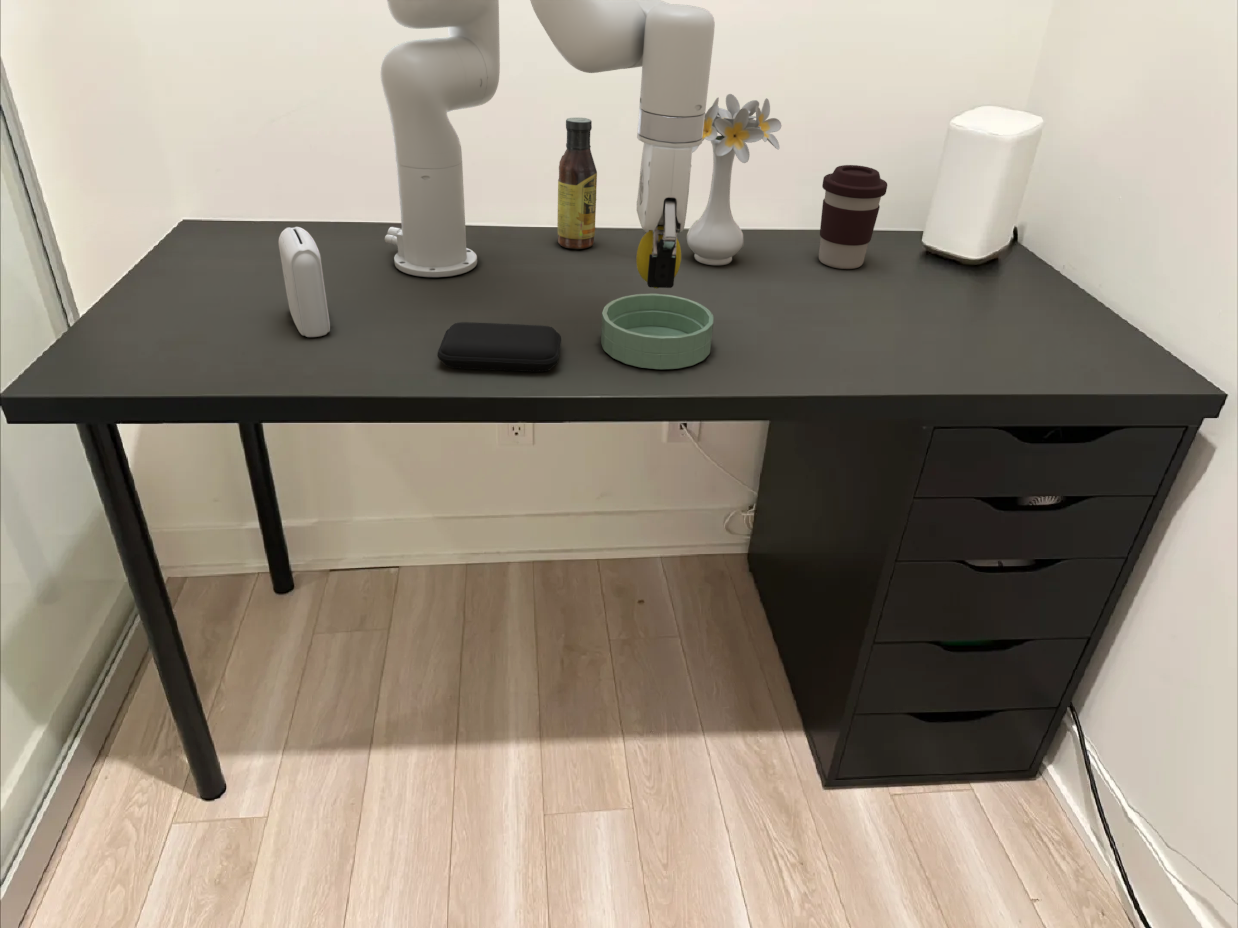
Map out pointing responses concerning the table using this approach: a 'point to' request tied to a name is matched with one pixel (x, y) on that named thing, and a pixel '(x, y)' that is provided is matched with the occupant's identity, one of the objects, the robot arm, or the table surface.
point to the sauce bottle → (577, 188)
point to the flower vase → (727, 175)
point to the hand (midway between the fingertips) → (657, 275)
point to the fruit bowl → (656, 331)
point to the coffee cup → (849, 214)
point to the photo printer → (304, 282)
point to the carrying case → (500, 347)
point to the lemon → (646, 250)
